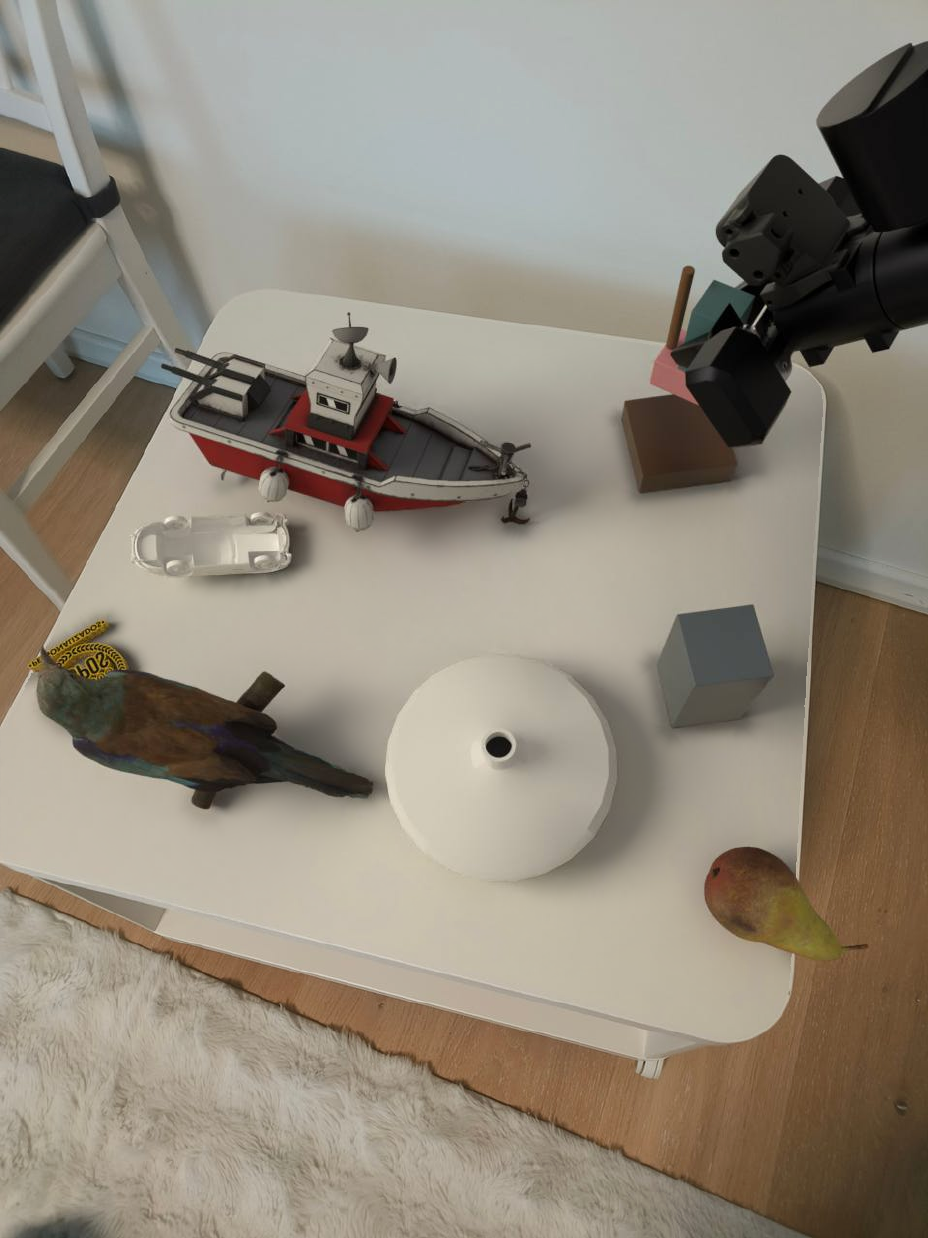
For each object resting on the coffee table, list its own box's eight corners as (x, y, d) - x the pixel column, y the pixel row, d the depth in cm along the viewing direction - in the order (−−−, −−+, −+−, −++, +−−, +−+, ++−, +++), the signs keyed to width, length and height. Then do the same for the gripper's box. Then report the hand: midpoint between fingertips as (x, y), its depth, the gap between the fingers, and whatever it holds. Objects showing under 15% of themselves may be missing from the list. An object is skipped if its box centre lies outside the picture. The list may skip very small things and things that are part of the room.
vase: (396, 897, 57) (380, 885, 51) (386, 678, 64) (371, 642, 57) (629, 876, 57) (643, 860, 50) (595, 658, 63) (604, 619, 57)
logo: (103, 617, 66) (147, 696, 63) (107, 621, 67) (151, 699, 64) (25, 663, 65) (67, 745, 62) (31, 667, 66) (71, 748, 63)
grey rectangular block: (723, 655, 63) (753, 603, 54) (740, 719, 61) (774, 675, 52) (656, 664, 63) (676, 613, 55) (671, 728, 61) (694, 686, 52)
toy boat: (214, 405, 76) (200, 218, 62) (532, 507, 75) (588, 340, 62) (142, 501, 68) (108, 310, 54) (498, 616, 67) (554, 452, 54)
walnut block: (708, 407, 72) (714, 387, 70) (730, 481, 69) (737, 463, 66) (621, 419, 72) (624, 400, 70) (639, 493, 69) (643, 476, 67)
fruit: (753, 868, 49) (916, 990, 49) (743, 815, 54) (890, 925, 55) (689, 925, 51) (846, 1042, 51) (686, 869, 56) (828, 976, 57)
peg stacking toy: (739, 380, 62) (774, 280, 54) (717, 414, 61) (749, 317, 53) (672, 350, 64) (695, 249, 55) (649, 383, 63) (669, 285, 54)
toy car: (287, 507, 68) (286, 528, 71) (128, 514, 65) (135, 535, 68) (292, 561, 66) (291, 580, 69) (129, 570, 63) (136, 590, 66)
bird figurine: (399, 714, 61) (180, 585, 47) (359, 850, 58) (108, 754, 44) (278, 707, 69) (60, 595, 55) (236, 826, 66) (-8, 739, 52)
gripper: (908, 43, 46) (688, 160, 59) (758, 265, 40) (550, 340, 53) (982, 216, 51) (764, 288, 64) (858, 436, 45) (645, 466, 58)
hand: (685, 340), depth 60 cm, fingers closed on peg stacking toy, 3 cm apart
